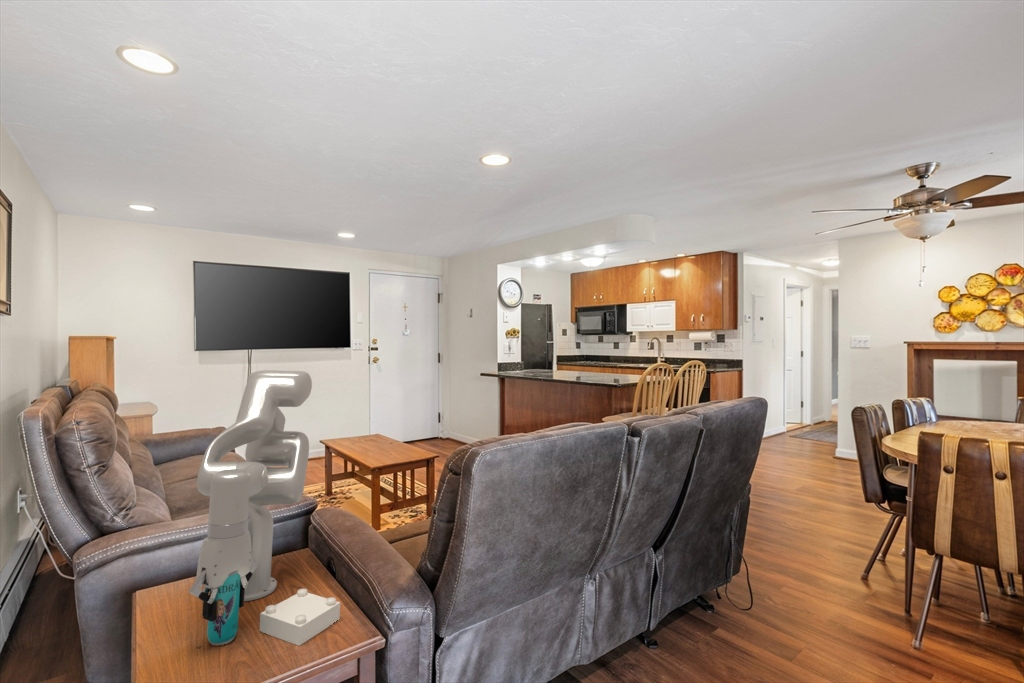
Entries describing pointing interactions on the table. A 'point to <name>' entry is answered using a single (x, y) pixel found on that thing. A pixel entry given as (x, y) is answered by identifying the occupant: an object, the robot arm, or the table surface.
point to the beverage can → (225, 612)
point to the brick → (299, 617)
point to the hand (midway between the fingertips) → (223, 611)
